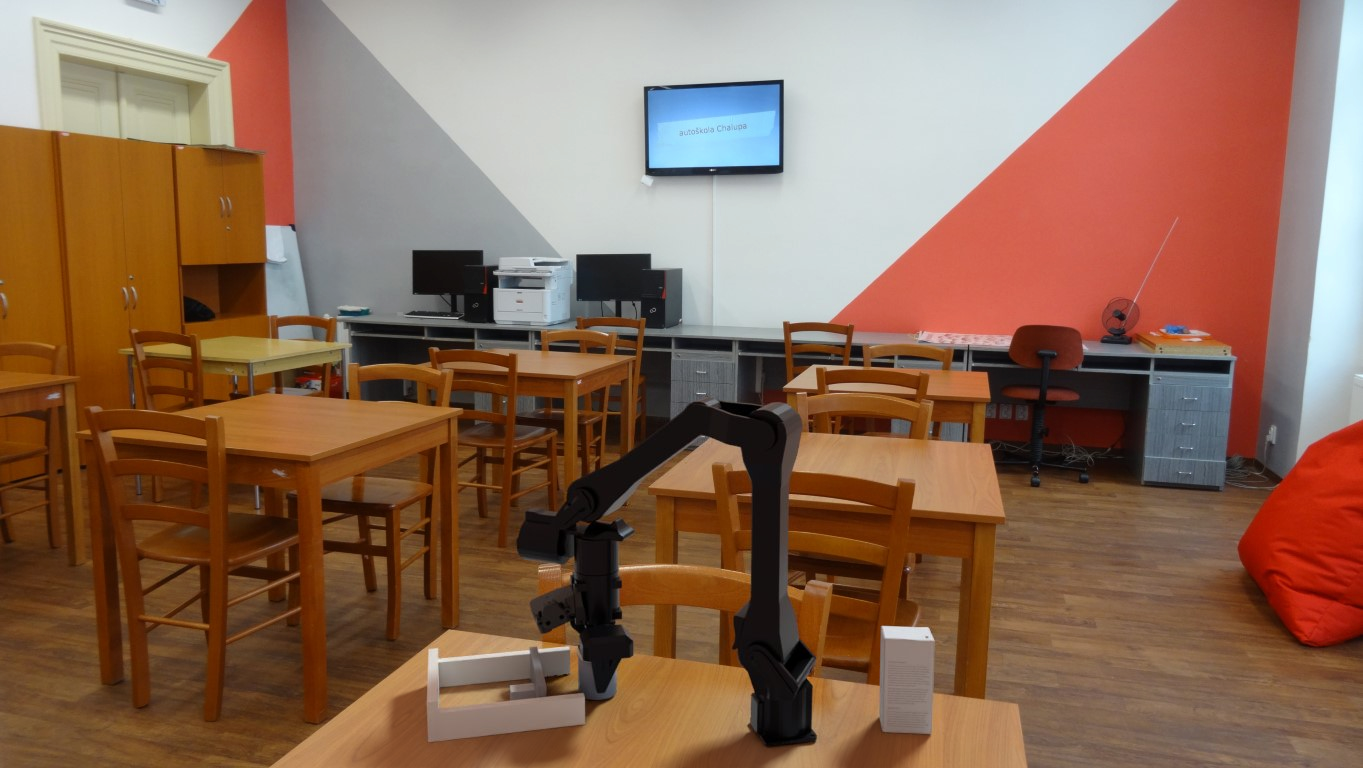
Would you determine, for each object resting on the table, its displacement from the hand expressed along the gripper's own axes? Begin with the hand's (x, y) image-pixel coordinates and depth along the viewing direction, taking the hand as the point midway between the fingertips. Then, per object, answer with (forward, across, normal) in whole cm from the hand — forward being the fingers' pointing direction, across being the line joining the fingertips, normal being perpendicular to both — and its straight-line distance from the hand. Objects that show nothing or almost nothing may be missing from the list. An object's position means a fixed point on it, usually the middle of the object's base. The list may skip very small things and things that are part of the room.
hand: (597, 683), depth 125 cm
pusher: (+1, 0, -9) cm, 9 cm away
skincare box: (+2, +17, +35) cm, 39 cm away
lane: (+1, 0, -12) cm, 12 cm away
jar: (+1, 0, 0) cm, 1 cm away
